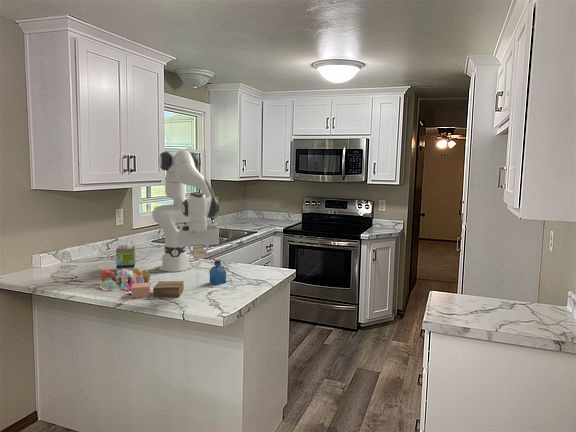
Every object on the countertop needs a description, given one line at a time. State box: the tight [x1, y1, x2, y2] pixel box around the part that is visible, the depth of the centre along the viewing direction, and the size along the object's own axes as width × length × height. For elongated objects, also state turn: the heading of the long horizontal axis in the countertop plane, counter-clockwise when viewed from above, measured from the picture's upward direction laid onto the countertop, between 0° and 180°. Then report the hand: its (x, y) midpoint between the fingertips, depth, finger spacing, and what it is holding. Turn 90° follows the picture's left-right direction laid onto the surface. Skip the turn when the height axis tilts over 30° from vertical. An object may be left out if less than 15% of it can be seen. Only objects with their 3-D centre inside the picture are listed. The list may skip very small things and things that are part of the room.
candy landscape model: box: [100, 267, 152, 291], centre depth 231 cm, size 25×24×9 cm
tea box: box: [115, 244, 137, 275], centre depth 261 cm, size 15×10×15 cm, turn 16°
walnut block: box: [152, 280, 185, 298], centre depth 217 cm, size 12×12×5 cm
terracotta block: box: [130, 282, 151, 298], centre depth 214 cm, size 8×8×5 cm
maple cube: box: [192, 245, 205, 260], centre depth 218 cm, size 5×5×5 cm
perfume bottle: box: [209, 259, 227, 286], centre depth 237 cm, size 6×6×12 cm
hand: (198, 254), depth 218 cm, fingers closed on maple cube, 5 cm apart
